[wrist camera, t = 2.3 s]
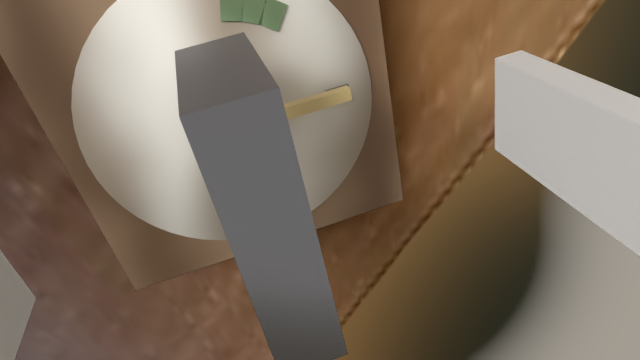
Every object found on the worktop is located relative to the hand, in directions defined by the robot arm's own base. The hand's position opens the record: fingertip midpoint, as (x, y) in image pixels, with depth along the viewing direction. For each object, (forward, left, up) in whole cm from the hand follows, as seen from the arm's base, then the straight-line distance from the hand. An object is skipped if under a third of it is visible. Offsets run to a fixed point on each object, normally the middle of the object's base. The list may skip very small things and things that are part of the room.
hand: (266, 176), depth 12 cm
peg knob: (+2, -3, -11) cm, 11 cm away
